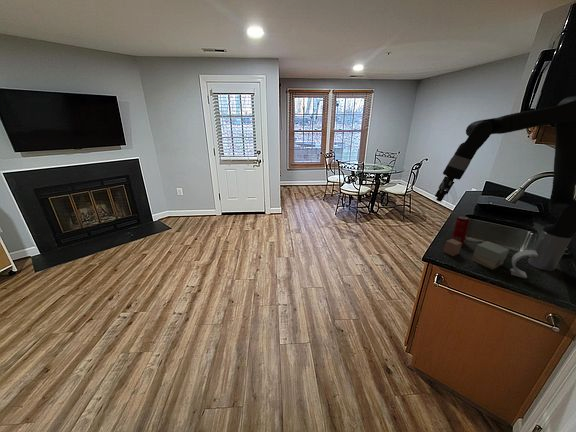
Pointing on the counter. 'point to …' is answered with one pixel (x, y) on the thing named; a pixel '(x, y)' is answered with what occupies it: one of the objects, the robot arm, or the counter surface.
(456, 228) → the beverage can
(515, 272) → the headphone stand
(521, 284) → the counter surface
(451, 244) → the terracotta block
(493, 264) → the tower bottom
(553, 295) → the counter surface
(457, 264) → the counter surface
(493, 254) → the tower top
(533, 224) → the counter surface
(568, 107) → the robot arm
